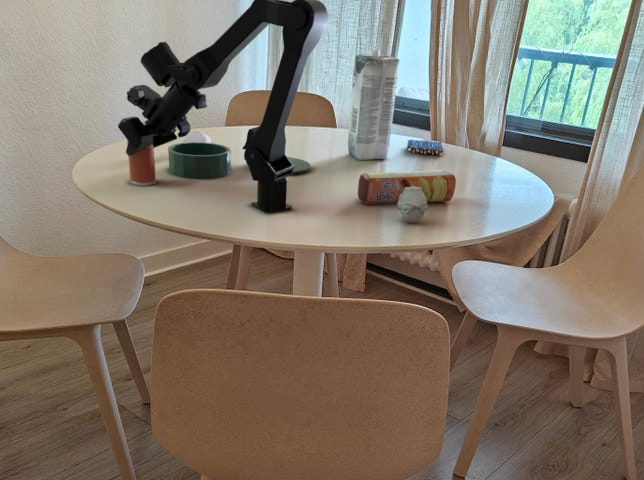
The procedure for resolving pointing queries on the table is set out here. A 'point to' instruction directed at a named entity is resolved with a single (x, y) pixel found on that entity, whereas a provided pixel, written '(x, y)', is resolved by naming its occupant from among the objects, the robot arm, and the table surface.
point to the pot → (199, 160)
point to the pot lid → (299, 165)
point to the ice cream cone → (196, 137)
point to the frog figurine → (412, 204)
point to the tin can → (142, 166)
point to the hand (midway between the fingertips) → (136, 151)
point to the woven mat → (425, 146)
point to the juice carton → (372, 105)
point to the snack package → (406, 185)
